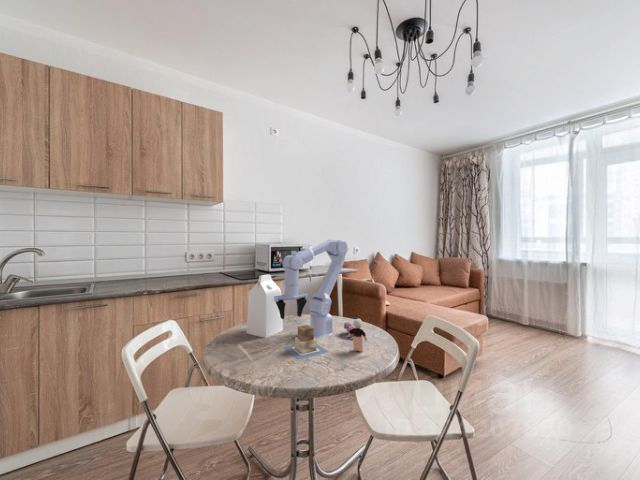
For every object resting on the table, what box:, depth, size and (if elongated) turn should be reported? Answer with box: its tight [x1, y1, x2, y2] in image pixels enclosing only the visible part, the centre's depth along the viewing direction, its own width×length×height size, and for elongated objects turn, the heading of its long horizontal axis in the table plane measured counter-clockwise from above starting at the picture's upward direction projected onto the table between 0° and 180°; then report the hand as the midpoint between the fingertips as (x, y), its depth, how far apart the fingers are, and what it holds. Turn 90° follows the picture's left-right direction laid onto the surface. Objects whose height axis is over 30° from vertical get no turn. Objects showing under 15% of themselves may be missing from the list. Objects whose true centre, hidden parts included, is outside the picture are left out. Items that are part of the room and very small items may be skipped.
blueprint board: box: [283, 343, 329, 360], centre depth 111 cm, size 13×13×1 cm
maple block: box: [294, 337, 317, 354], centre depth 111 cm, size 6×6×4 cm
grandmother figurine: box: [347, 318, 368, 353], centre depth 110 cm, size 8×4×13 cm, turn 71°
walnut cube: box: [297, 324, 315, 342], centre depth 110 cm, size 4×4×4 cm
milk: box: [246, 274, 284, 339], centre depth 132 cm, size 12×12×26 cm
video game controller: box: [343, 321, 355, 339], centre depth 127 cm, size 10×5×7 cm, turn 5°
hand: (290, 317), depth 119 cm, fingers open, 7 cm apart
